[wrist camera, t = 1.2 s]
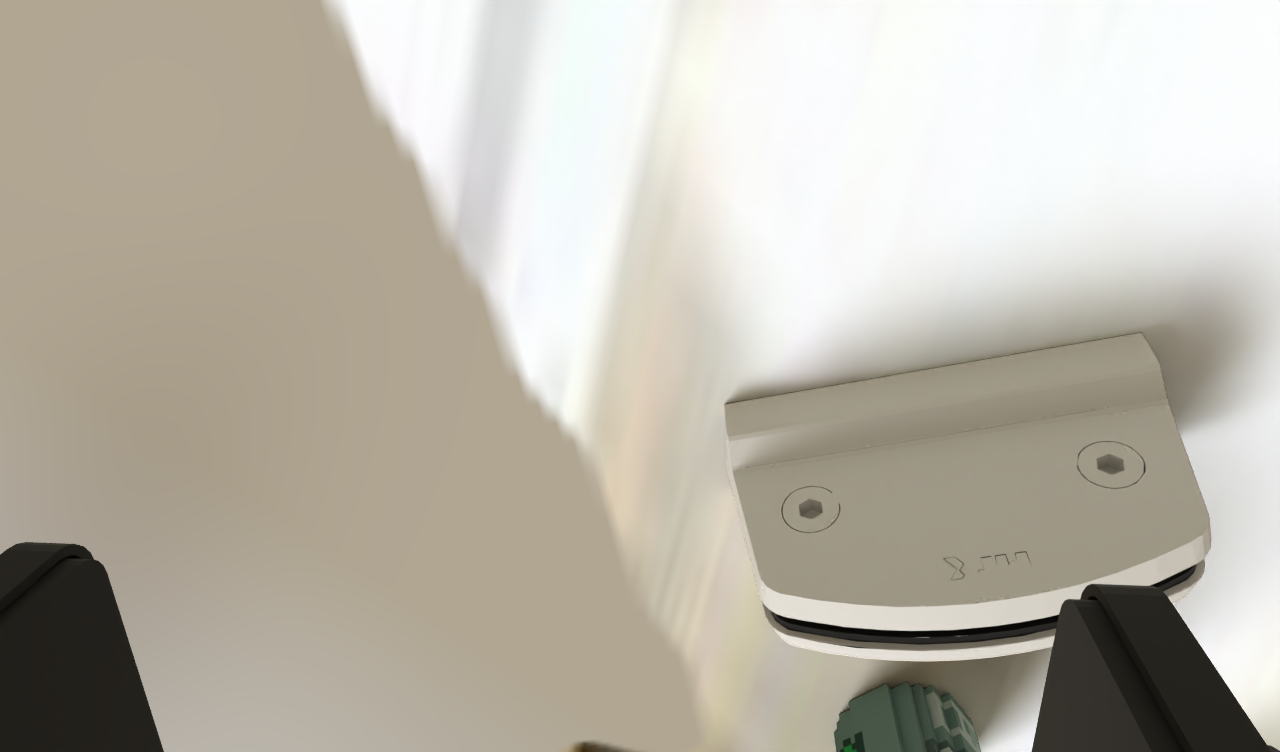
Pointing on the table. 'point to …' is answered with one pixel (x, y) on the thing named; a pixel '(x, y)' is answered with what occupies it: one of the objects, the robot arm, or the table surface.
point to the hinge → (964, 501)
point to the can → (905, 722)
